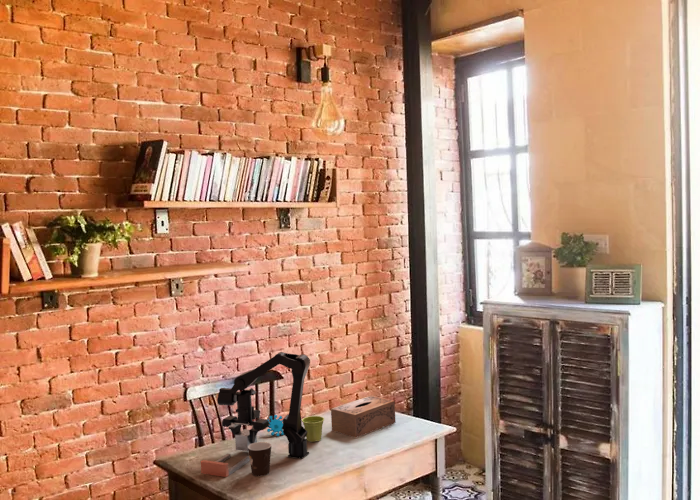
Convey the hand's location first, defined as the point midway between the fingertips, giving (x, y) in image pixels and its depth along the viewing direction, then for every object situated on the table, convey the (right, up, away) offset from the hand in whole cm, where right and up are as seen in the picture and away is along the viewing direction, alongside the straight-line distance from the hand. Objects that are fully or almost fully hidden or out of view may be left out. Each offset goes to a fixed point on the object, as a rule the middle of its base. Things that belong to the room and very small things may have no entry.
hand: (246, 444), depth 262 cm
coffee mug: (+9, -5, -22) cm, 24 cm away
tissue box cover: (+48, -1, +28) cm, 55 cm away
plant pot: (+26, -2, +13) cm, 29 cm away
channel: (-5, -5, -12) cm, 14 cm away
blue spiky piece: (+10, -2, +22) cm, 25 cm away
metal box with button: (0, -1, 0) cm, 1 cm away
